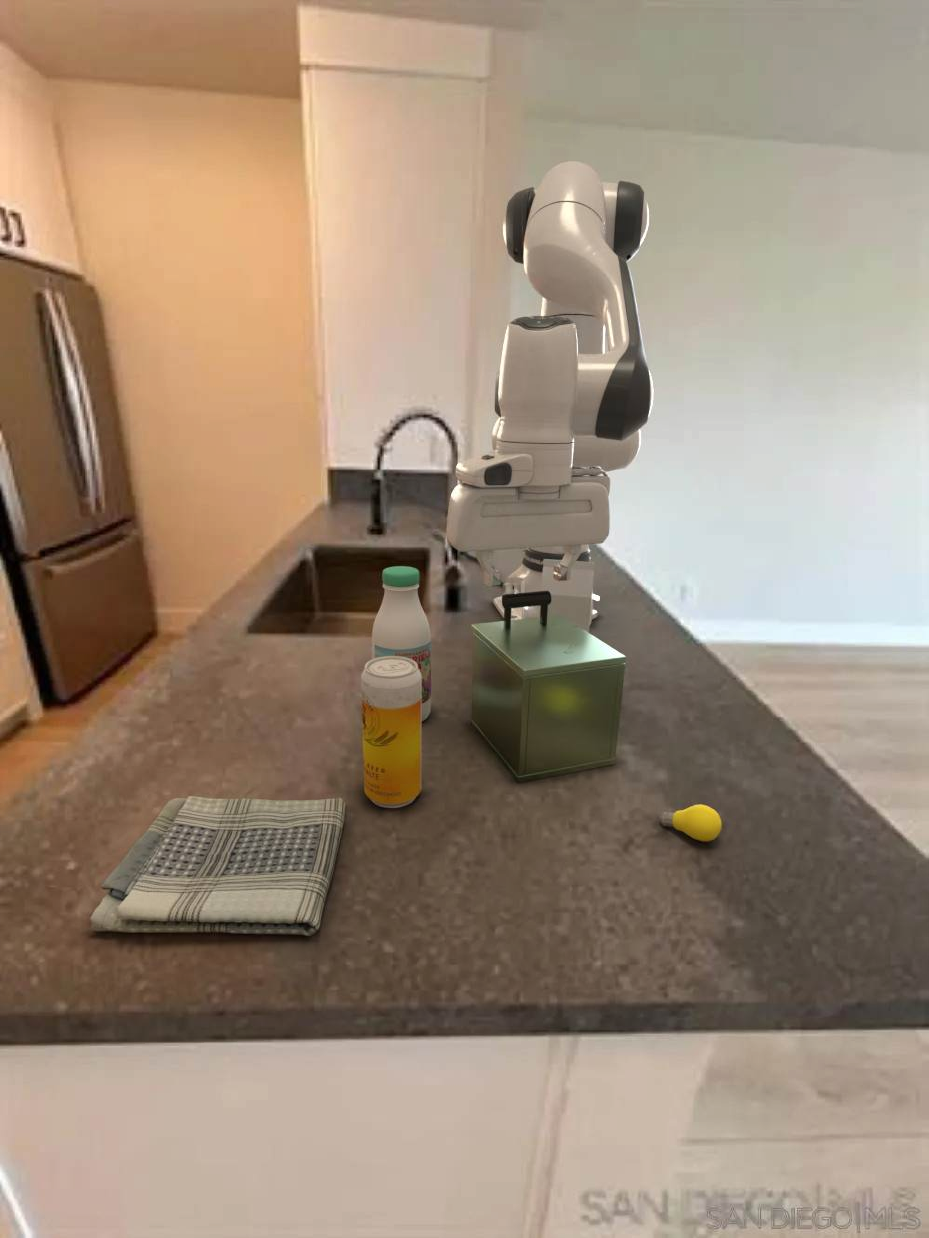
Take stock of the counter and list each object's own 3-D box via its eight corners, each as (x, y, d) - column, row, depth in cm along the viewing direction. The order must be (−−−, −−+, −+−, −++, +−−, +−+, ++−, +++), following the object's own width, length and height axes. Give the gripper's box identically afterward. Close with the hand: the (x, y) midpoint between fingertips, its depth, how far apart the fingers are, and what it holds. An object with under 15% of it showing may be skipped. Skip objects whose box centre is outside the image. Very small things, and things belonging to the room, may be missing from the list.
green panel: (471, 630, 84) (471, 591, 83) (560, 620, 89) (562, 583, 87) (523, 677, 71) (526, 631, 69) (625, 663, 75) (630, 620, 73)
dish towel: (350, 809, 70) (349, 782, 69) (319, 943, 53) (317, 910, 52) (169, 808, 69) (165, 781, 68) (78, 943, 52) (71, 910, 51)
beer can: (358, 785, 74) (353, 658, 69) (410, 774, 76) (410, 651, 71) (373, 816, 69) (370, 681, 64) (429, 803, 71) (430, 672, 66)
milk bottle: (361, 714, 90) (356, 569, 84) (403, 696, 95) (402, 559, 89) (399, 733, 85) (398, 581, 79) (442, 714, 91) (444, 570, 84)
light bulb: (721, 851, 64) (712, 824, 63) (660, 843, 68) (651, 818, 66) (728, 824, 67) (720, 798, 65) (669, 818, 70) (660, 793, 69)
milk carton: (583, 697, 97) (594, 568, 91) (534, 692, 98) (541, 565, 92) (585, 677, 103) (595, 556, 97) (538, 673, 104) (545, 553, 98)
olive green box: (470, 724, 88) (473, 632, 84) (556, 711, 92) (562, 622, 88) (517, 783, 75) (523, 677, 71) (615, 764, 79) (625, 663, 75)
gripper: (597, 463, 84) (588, 570, 89) (442, 465, 77) (441, 581, 82) (625, 468, 79) (614, 583, 83) (461, 471, 72) (459, 595, 76)
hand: (527, 582), depth 82 cm, fingers open, 8 cm apart
